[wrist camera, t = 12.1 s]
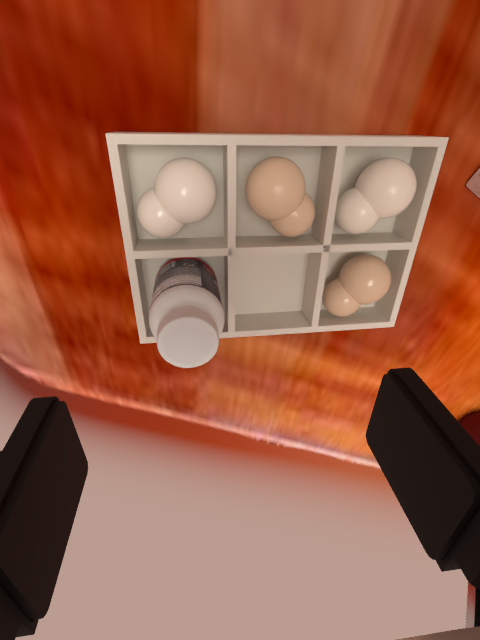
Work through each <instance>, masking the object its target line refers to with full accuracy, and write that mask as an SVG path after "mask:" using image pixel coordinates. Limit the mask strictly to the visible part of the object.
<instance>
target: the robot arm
mask: <svg viewBox="0 0 480 640" xmlns="http://www.w3.org/2000/svg"><path fill="white" fill-rule="evenodd" d="M366 439H367V443H368V445H369V447H370V449H371V451H372V452H373V454H374V456H375V458H376V460H377V462H378V464H379V466H380V467H381V469H382V471H383V473H384V475H385V477H386V478H387V480H388V482H389V484H390V486H391V488H392V490H393V491H394V493H395V495H396V497H397V499H398V501H399V503H400V505H401V507H402V508H403V510H404V512H405V514H406V516H407V518H408V519H409V521H410V523H411V525H412V527H413V529H414V531H415V532H416V534H417V536H418V538H419V540H420V542H421V544H422V545H423V548H424V549H425V551H426V553H427V554H428V556H429V557H430V558H432V559H434V560H436V562H437V564H438V565H439V567H440V569H441V571H442V572H443V571H449V570H456V569H461V570H462V571H463V573H464V575H465V576H466V578H467V580H468V594H467V612H466V628H465V629H458V630H451V631H445V632H440V633H433V634H428V635H423V636H416V637H410V638H404V639H398V640H480V446H479V445H478V444H477V443H476V442H475V441H474V439H473V438H472V437H471V436H470V435H469V434H468V432H467V431H466V430H465V429H464V428H463V427H462V426H461V424H460V423H459V422H458V421H457V420H456V419H455V418H454V416H453V415H452V414H451V413H450V412H449V411H448V409H447V408H446V407H445V406H444V405H443V404H442V403H441V401H440V400H439V399H438V398H437V397H436V396H435V394H434V393H433V392H432V391H431V390H430V389H429V388H428V386H427V385H426V384H425V383H424V382H423V381H422V379H421V378H420V377H419V376H418V375H417V374H416V373H415V371H414V370H412V369H411V368H398V369H390V370H389V371H388V373H387V374H385V375H384V376H383V378H382V381H381V385H380V388H379V391H378V395H377V398H376V401H375V405H374V408H373V411H372V415H371V418H370V421H369V425H368V428H367V432H366ZM87 472H88V462H87V459H86V456H85V453H84V451H83V448H82V445H81V443H80V440H79V437H78V435H77V432H76V429H75V427H74V424H73V421H72V418H71V416H70V413H69V410H68V407H67V405H66V403H65V402H64V401H59V399H58V398H57V397H43V398H34V399H32V400H31V401H30V402H29V404H28V406H27V408H26V409H25V411H24V413H23V415H22V416H21V419H20V420H19V422H18V424H17V425H16V427H15V429H14V431H13V433H12V435H11V436H10V438H9V440H8V442H7V443H6V445H5V447H4V449H3V451H0V640H15V637H20V636H27V635H33V634H34V633H35V630H36V626H37V623H38V620H39V619H41V618H43V617H44V616H45V615H46V613H47V611H48V609H49V606H50V602H51V599H52V595H53V592H54V588H55V584H56V581H57V578H58V574H59V571H60V567H61V564H62V560H63V557H64V553H65V550H66V546H67V542H68V539H69V536H70V532H71V529H72V525H73V522H74V518H75V515H76V511H77V508H78V504H79V501H80V497H81V494H82V490H83V486H84V483H85V480H86V476H87Z"/></svg>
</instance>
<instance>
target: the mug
mask: <svg viewBox="0 0 480 640" xmlns="http://www.w3.org/2000/svg"><path fill="white" fill-rule="evenodd" d="M459 423H460V424H461V426H462V427H463V428H464V429H465V430H466V431H467V432H468V434H469V435H470V436H471V437H472V438H473V439H474V441H475V442H476V443H477V444H478V445H479V446H480V412H474V413H471V414H468V415H467V416H465V417H464V418H463V419H461V421H460V422H459Z"/></svg>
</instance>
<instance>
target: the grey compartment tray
mask: <svg viewBox="0 0 480 640" xmlns="http://www.w3.org/2000/svg"><path fill="white" fill-rule="evenodd" d="M105 134H106V140H107V146H108V152H109V158H110V164H111V170H112V176H113V182H114V188H115V194H116V200H117V206H118V212H119V218H120V224H121V230H122V236H123V242H124V248H125V254H126V260H127V266H128V272H129V278H130V285H131V291H132V297H133V303H134V309H135V315H136V321H137V327H138V333H139V339H140V344H143V343H157V340H156V338H155V337H154V336H153V334H152V332H151V329H150V325H149V311H150V306H151V300H152V295H153V289H154V284H155V279H156V276H157V273H158V270H159V269H160V267H161V266H162V265H163V264H164V263H165V262H166V261H167V260H169V259H170V258H180V257H199V258H201V259H203V260H204V261H206V262H207V263H208V264H209V265H210V266H211V267H212V269H213V271H214V273H215V275H216V278H217V282H218V287H219V292H220V296H221V302H222V306H223V310H224V319H225V320H224V327H223V330H222V333H221V335H220V336H219V338H233V337H248V336H263V335H278V334H293V333H309V332H324V331H339V330H354V329H369V328H384V327H394V325H395V321H396V318H397V314H398V311H399V307H400V304H401V301H402V297H403V294H404V290H405V287H406V283H407V280H408V276H409V273H410V270H411V266H412V263H413V259H414V256H415V252H416V249H417V245H418V242H419V239H420V235H421V232H422V228H423V225H424V221H425V218H426V215H427V211H428V208H429V204H430V201H431V197H432V194H433V190H434V187H435V184H436V180H437V177H438V173H439V170H440V166H441V163H442V159H443V156H444V153H445V149H446V146H447V142H448V139H449V137H435V136H417V135H335V134H253V133H172V132H111V133H105ZM274 156H279V157H284V158H287V159H289V160H291V161H293V162H294V163H295V164H296V165H297V166H298V167H299V168H300V170H301V171H302V173H303V176H304V179H305V184H306V190H305V193H307V194H308V195H309V196H310V197H311V199H312V200H313V202H314V205H315V218H314V221H313V223H312V225H311V227H310V228H309V229H308V230H307V231H306V232H305V233H303V234H301V235H299V236H296V237H286V236H283V235H280V234H279V233H278V232H276V231H275V230H274V229H273V227H272V225H271V223H270V221H269V220H267V219H264V218H261V217H260V216H258V215H257V214H256V213H255V212H254V211H253V210H252V209H251V207H250V206H249V204H248V201H247V198H246V192H245V188H246V181H247V178H248V176H249V173H250V172H251V170H252V169H253V168H254V166H255V165H256V164H258V163H259V162H260V161H262V160H264V159H266V158H269V157H274ZM389 157H391V158H398V159H401V160H403V161H405V162H406V163H408V164H409V165H410V166H411V168H412V169H413V171H414V173H415V176H416V180H417V187H416V192H415V195H414V198H413V200H412V201H411V203H410V204H409V205H408V207H407V208H406V209H405V210H404V211H402V212H401V213H399V214H398V215H396V216H393V217H391V218H386V219H379V220H378V222H377V223H376V224H375V226H374V227H372V228H371V229H370V230H368V231H366V232H364V233H361V234H350V233H347V232H345V231H343V230H342V229H341V228H340V227H339V226H338V225H337V223H336V221H335V212H336V206H337V200H338V198H339V197H340V196H341V195H342V194H343V193H344V192H345V191H347V190H349V189H351V188H354V187H355V184H356V181H357V179H358V177H359V175H360V174H361V172H362V171H363V170H364V169H365V168H366V167H367V166H368V165H369V164H371V163H372V162H374V161H376V160H379V159H382V158H389ZM176 158H191V159H194V160H196V161H198V162H200V163H201V164H203V165H204V166H205V167H206V168H207V169H208V170H209V171H210V173H211V174H212V176H213V178H214V181H215V184H216V201H215V204H214V207H213V209H212V210H211V212H210V213H209V214H208V215H207V216H206V217H205V218H204V219H202V220H201V221H198V222H196V223H192V224H184V226H183V228H182V229H181V230H180V232H178V233H177V234H176V235H174V236H172V237H168V238H158V237H155V236H152V235H150V234H149V233H147V232H146V231H145V230H144V229H143V228H142V226H141V225H140V223H139V221H138V217H137V204H138V201H139V199H140V197H141V196H142V195H143V194H144V193H145V192H146V191H147V190H149V189H151V188H154V183H155V178H156V176H157V174H158V172H159V170H160V169H161V168H162V167H163V166H164V165H165V164H166V163H167V162H169V161H171V160H173V159H176ZM363 254H368V255H374V256H377V257H379V258H380V259H382V260H383V261H384V262H385V263H386V264H387V266H388V267H389V269H390V272H391V284H390V288H389V290H388V291H387V293H386V294H385V295H384V296H383V297H382V298H381V299H380V300H378V301H376V302H374V303H371V304H365V305H363V304H361V306H360V308H359V309H358V310H357V311H356V312H355V313H353V314H352V315H349V316H345V317H340V316H335V315H333V314H331V313H330V312H328V311H327V310H326V308H325V307H324V305H323V302H322V296H323V290H324V288H325V286H326V285H327V284H328V283H329V282H330V281H332V280H333V279H336V278H338V277H339V273H340V270H341V268H342V267H343V265H344V264H345V263H346V262H347V261H348V260H350V259H351V258H353V257H355V256H358V255H363Z"/></svg>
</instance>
